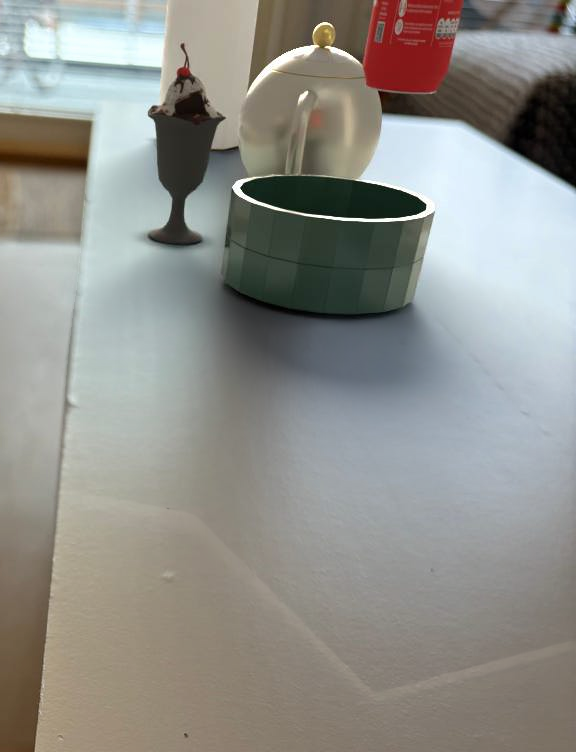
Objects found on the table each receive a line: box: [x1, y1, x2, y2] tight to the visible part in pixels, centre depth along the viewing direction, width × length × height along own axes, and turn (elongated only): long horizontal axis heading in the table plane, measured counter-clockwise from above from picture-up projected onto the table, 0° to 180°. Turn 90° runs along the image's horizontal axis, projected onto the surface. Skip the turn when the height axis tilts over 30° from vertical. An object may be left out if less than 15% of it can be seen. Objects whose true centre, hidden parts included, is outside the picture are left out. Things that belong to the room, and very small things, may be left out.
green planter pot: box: [220, 174, 436, 315], centre depth 76 cm, size 15×15×7 cm
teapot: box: [238, 22, 383, 179], centre depth 93 cm, size 18×14×16 cm
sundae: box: [147, 43, 226, 245], centre depth 84 cm, size 7×7×15 cm
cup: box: [158, 0, 260, 151], centre depth 122 cm, size 11×11×18 cm
